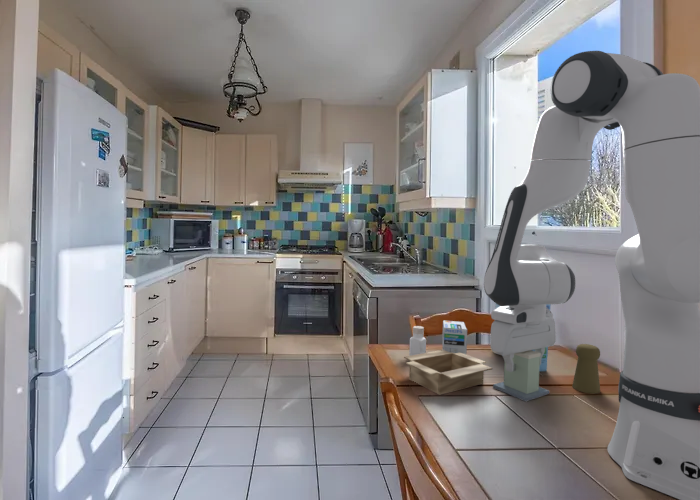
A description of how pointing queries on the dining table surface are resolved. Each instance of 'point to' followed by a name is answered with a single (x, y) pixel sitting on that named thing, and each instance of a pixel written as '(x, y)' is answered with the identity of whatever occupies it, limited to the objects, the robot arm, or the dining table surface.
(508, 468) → the dining table surface
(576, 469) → the dining table surface
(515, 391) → the trivet
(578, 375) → the pepper shaker
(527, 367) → the tea tin
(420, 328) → the pepper shaker
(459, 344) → the light bulb box
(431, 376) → the carton
